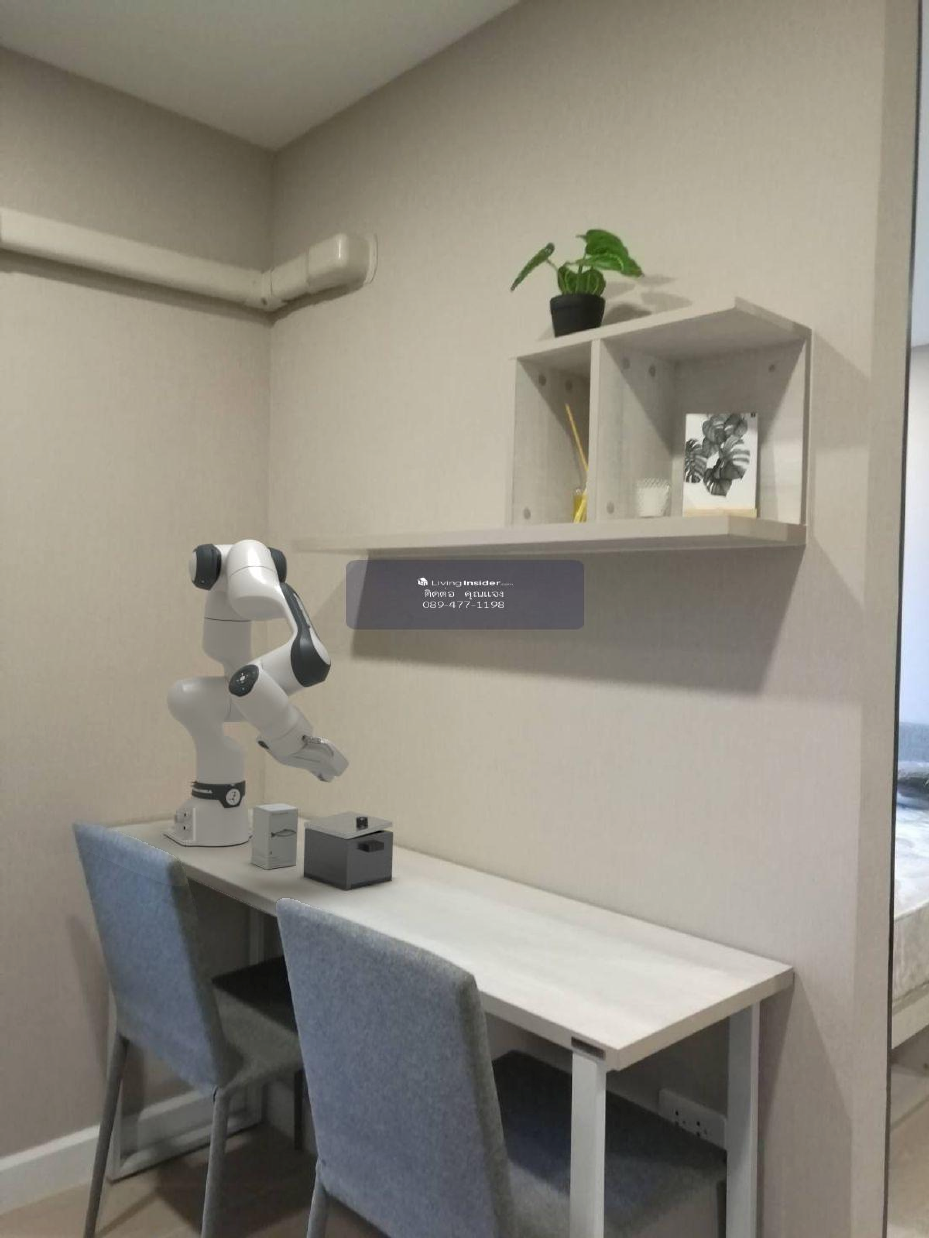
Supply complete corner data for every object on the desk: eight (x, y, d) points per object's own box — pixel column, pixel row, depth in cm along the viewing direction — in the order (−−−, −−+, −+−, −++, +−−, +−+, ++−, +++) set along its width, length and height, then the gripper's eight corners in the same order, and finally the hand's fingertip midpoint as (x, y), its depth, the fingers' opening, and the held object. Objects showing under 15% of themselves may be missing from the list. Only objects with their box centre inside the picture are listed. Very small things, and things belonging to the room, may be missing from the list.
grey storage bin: (298, 874, 206) (299, 826, 206) (343, 865, 214) (344, 819, 214) (352, 892, 194) (353, 841, 194) (397, 882, 202) (399, 833, 202)
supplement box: (266, 870, 208) (268, 810, 208) (250, 863, 214) (252, 804, 214) (297, 865, 213) (299, 807, 213) (280, 858, 219) (282, 801, 219)
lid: (304, 827, 204) (303, 814, 204) (349, 815, 213) (349, 803, 213) (347, 839, 195) (346, 826, 195) (392, 826, 203) (392, 813, 203)
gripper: (332, 727, 187) (370, 774, 194) (269, 717, 201) (306, 761, 208) (312, 752, 184) (351, 799, 191) (250, 740, 198) (288, 784, 205)
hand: (327, 779), depth 200 cm, fingers closed
